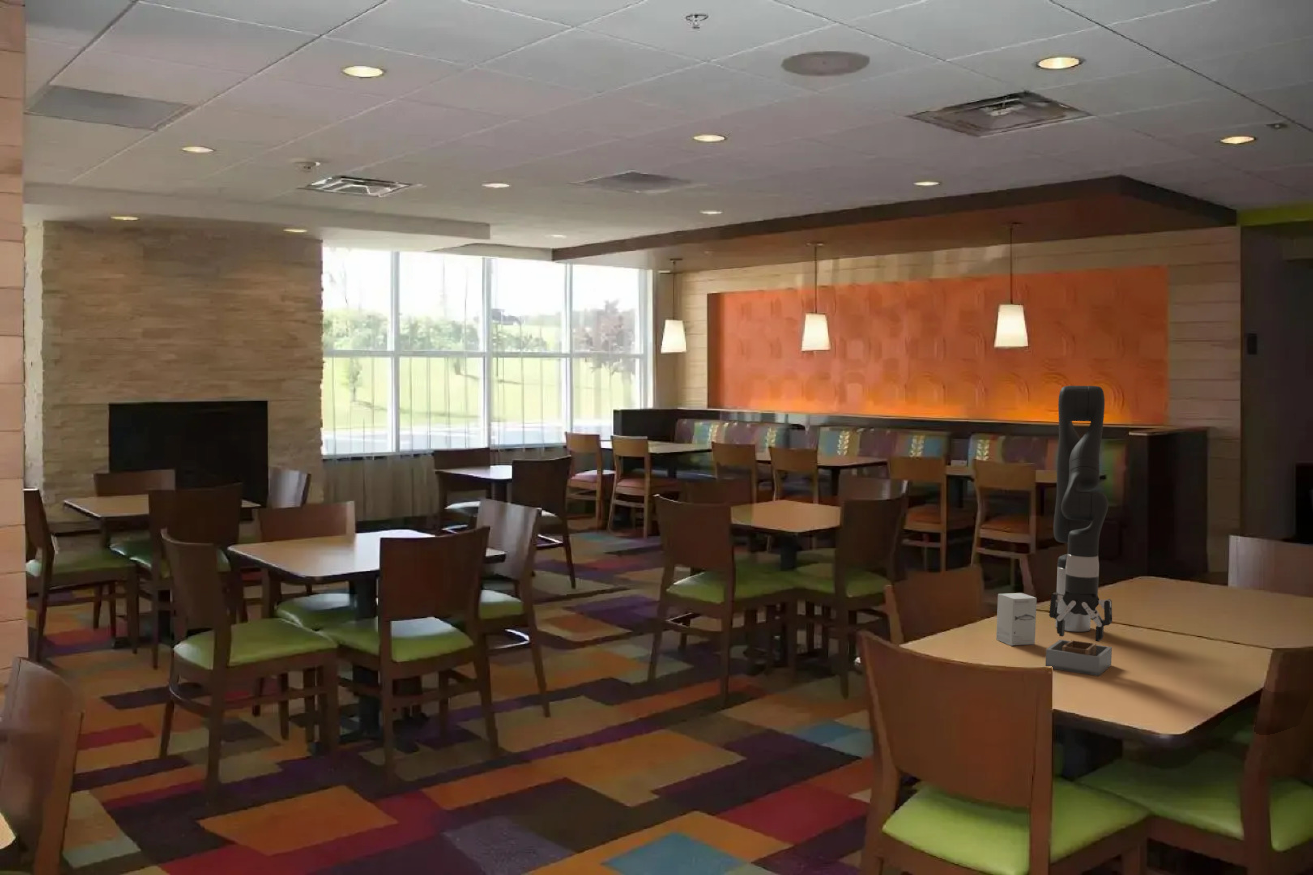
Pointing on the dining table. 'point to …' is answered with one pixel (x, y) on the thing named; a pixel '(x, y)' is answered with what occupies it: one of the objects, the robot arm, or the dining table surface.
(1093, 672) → the box
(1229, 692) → the dining table surface
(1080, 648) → the small crate
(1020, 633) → the supplement box
